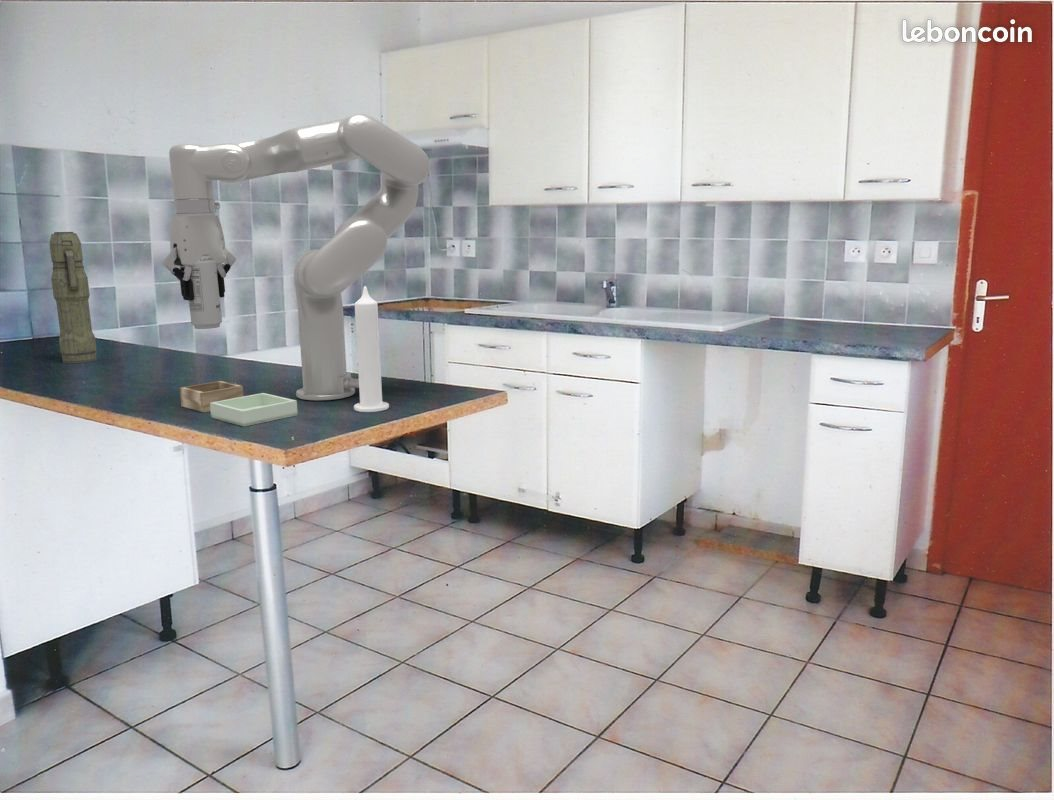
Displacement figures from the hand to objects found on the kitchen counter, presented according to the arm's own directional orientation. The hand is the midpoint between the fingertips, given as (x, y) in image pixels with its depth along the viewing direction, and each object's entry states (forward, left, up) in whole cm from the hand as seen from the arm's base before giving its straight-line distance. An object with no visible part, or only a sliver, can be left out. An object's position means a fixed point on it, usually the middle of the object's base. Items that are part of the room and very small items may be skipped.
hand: (204, 297), depth 180 cm
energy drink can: (0, 0, -6) cm, 6 cm away
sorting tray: (-13, +9, -23) cm, 28 cm away
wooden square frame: (0, 0, -23) cm, 23 cm away
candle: (-34, +1, -23) cm, 41 cm away
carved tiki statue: (+65, -51, -23) cm, 86 cm away
